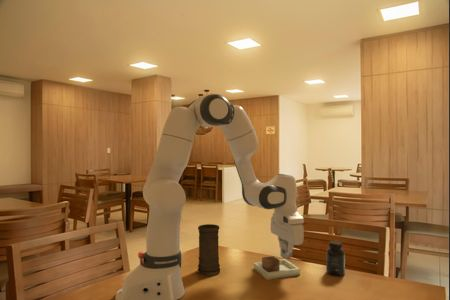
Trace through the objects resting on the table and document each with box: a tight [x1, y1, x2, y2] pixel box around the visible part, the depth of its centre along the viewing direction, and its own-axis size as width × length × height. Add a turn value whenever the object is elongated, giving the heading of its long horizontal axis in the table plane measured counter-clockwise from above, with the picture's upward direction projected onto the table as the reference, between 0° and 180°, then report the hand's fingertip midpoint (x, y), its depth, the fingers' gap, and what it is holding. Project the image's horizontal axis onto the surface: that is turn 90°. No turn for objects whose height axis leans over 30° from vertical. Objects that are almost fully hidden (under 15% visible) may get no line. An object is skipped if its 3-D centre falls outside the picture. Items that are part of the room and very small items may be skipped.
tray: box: [253, 258, 301, 281], centre depth 132 cm, size 14×12×2 cm
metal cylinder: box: [279, 239, 293, 259], centre depth 132 cm, size 4×4×6 cm
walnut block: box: [261, 255, 280, 272], centre depth 130 cm, size 5×5×5 cm
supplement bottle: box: [325, 240, 346, 277], centre depth 130 cm, size 7×7×12 cm
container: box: [197, 223, 221, 277], centre depth 132 cm, size 9×9×18 cm
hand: (285, 250), depth 132 cm, fingers closed on metal cylinder, 4 cm apart
